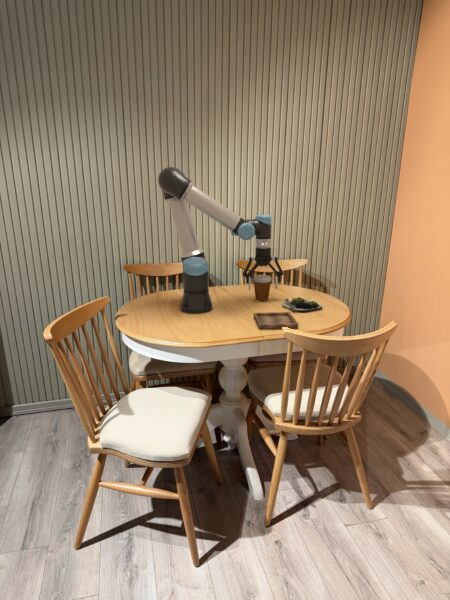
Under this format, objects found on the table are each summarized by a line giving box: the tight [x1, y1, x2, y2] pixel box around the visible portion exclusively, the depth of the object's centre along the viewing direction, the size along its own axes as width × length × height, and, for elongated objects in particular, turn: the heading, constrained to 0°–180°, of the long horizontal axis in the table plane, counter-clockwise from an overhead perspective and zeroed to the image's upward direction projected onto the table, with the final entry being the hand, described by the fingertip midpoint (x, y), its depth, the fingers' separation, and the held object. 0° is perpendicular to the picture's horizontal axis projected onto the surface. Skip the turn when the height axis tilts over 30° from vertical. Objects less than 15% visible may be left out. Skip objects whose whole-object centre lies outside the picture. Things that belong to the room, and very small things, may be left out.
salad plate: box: [281, 296, 323, 314], centre depth 198 cm, size 19×18×5 cm
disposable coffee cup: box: [252, 274, 273, 302], centre depth 208 cm, size 10×10×12 cm
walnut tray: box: [253, 311, 299, 330], centre depth 176 cm, size 16×16×2 cm
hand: (262, 289), depth 208 cm, fingers open, 13 cm apart
